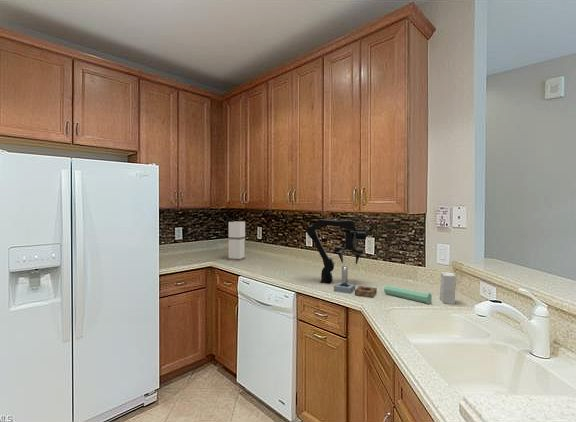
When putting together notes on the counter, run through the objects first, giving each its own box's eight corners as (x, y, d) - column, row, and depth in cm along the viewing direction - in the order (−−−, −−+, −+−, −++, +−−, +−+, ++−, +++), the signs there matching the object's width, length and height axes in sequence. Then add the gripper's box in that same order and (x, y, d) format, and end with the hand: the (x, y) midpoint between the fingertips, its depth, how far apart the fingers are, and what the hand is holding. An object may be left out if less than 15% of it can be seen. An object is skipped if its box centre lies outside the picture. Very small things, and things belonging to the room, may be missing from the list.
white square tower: (245, 259, 278) (245, 221, 278) (239, 261, 268) (239, 222, 267) (234, 258, 282) (234, 221, 281) (228, 260, 272) (228, 221, 271)
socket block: (333, 291, 176) (333, 286, 176) (339, 287, 184) (339, 282, 184) (350, 293, 171) (350, 288, 171) (355, 289, 180) (355, 284, 180)
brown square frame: (354, 295, 168) (354, 290, 168) (359, 290, 177) (359, 285, 177) (372, 297, 163) (372, 292, 163) (376, 293, 172) (376, 288, 172)
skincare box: (439, 298, 163) (440, 271, 162) (451, 299, 161) (452, 272, 161) (442, 303, 155) (443, 274, 154) (455, 304, 153) (456, 275, 152)
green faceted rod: (383, 283, 171) (428, 291, 153) (388, 285, 175) (432, 294, 157) (381, 293, 170) (426, 303, 152) (386, 295, 174) (430, 305, 156)
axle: (340, 290, 177) (340, 266, 177) (343, 289, 180) (343, 266, 180) (345, 291, 175) (346, 267, 175) (348, 290, 178) (348, 266, 178)
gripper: (367, 239, 195) (366, 262, 195) (339, 237, 204) (339, 260, 204) (362, 240, 185) (362, 265, 185) (334, 239, 194) (333, 263, 194)
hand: (349, 263), depth 192 cm, fingers open, 9 cm apart
